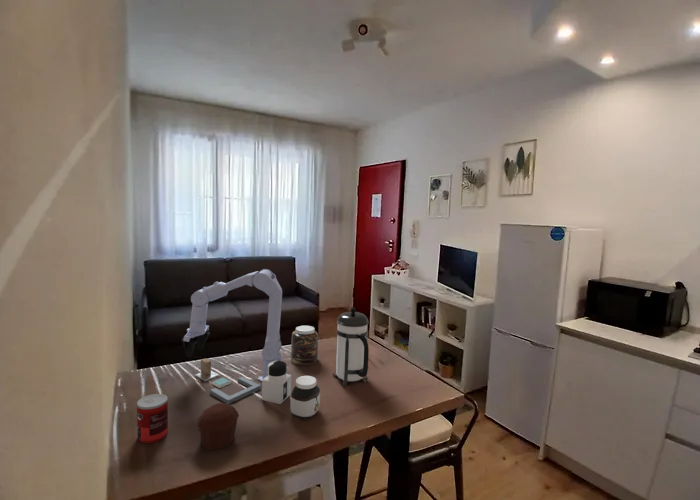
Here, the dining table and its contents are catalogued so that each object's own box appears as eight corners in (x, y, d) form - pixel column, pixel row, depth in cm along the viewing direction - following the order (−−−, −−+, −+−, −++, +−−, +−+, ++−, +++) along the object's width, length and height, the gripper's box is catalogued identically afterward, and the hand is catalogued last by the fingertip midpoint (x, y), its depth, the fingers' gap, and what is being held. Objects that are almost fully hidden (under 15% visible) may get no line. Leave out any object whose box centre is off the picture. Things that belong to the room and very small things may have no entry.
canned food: (145, 427, 107) (144, 393, 106) (172, 427, 108) (172, 393, 107) (131, 444, 99) (131, 407, 98) (161, 443, 100) (160, 407, 99)
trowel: (209, 371, 146) (209, 356, 145) (218, 376, 142) (219, 361, 141) (195, 376, 141) (195, 361, 141) (205, 381, 137) (205, 366, 136)
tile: (231, 384, 136) (231, 381, 136) (219, 389, 132) (219, 385, 132) (223, 380, 139) (223, 377, 139) (211, 385, 135) (211, 381, 135)
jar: (310, 353, 168) (311, 323, 167) (321, 362, 158) (322, 330, 157) (287, 357, 162) (288, 326, 161) (297, 367, 152) (297, 334, 151)
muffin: (217, 457, 95) (218, 423, 94) (187, 446, 100) (187, 412, 99) (246, 433, 106) (247, 402, 105) (218, 423, 111) (218, 393, 110)
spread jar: (305, 424, 112) (306, 389, 111) (278, 413, 117) (278, 380, 116) (326, 407, 122) (327, 375, 121) (300, 397, 128) (300, 367, 127)
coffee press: (324, 383, 139) (327, 309, 136) (340, 368, 154) (343, 301, 151) (366, 393, 133) (369, 316, 129) (378, 376, 147) (382, 306, 144)
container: (291, 394, 130) (292, 360, 129) (280, 404, 123) (281, 369, 121) (273, 390, 132) (273, 357, 131) (261, 400, 125) (261, 365, 124)
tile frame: (260, 389, 133) (260, 385, 133) (228, 404, 122) (228, 400, 121) (242, 380, 139) (242, 376, 139) (210, 393, 128) (210, 389, 128)
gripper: (199, 313, 145) (195, 344, 146) (177, 323, 131) (173, 357, 132) (215, 316, 144) (211, 347, 146) (195, 326, 130) (191, 361, 131)
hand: (194, 352), depth 139 cm, fingers open, 7 cm apart
